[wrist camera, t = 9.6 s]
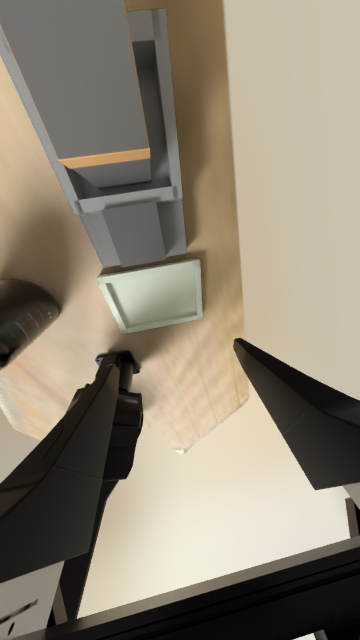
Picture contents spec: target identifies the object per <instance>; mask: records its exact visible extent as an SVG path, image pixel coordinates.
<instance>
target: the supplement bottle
mask: <svg viewBox="0 0 360 640" xmlns="http://www.w3.org/2000/svg"><path fill="white" fill-rule="evenodd" d="M58 314H59V309H58V306H57V303H56V302H55V300H54V299H53V298H52V297H51V295H49V294H48V293H47V292H46V291H45V290H43V289H41V288H40V287H38V286H36V285H34V284H31V283H29V282H25V281H21V280H14V279H7V280H1V281H0V371H1V370H2V369H4V368H5V367H7V366H8V365H9V364H10V363H11V362H12V361H13V360H15V359H16V358H17V357H18V356H19V355H20V354H21V353H22V352H23V351H24V350H25V349H26V348H27V347H28V346H29V345H30V344H31V343H32V342H34V341H35V340H36V339H37V338H38V337H39V336H40V335H41V334H42V333H43V332H44V331H45V330H46V329H47V328H48V327H49V326H50V325H51V324H52V323H53V322H54V321H55V320H56V319H57V317H58Z"/></svg>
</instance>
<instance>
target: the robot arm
mask: <svg viewBox="0 0 360 640" xmlns="http://www.w3.org/2000/svg"><path fill="white" fill-rule="evenodd" d="M233 348H234V351H235V353H236V355H237V357H238V359H239V362H240V364H241V366H242V368H243V370H244V371H245V373H246V375H247V377H248V378H249V380H250V382H251V383H252V385H253V387H254V388H255V390H256V392H257V393H258V395H259V397H260V398H261V400H262V402H263V403H264V405H265V407H266V409H267V410H268V412H269V414H270V415H271V417H272V419H273V420H274V422H275V424H276V425H277V427H278V429H279V430H280V432H281V434H282V436H283V438H284V439H285V441H286V443H287V444H288V446H289V448H290V449H291V451H292V453H293V454H294V456H295V458H296V459H297V461H298V463H299V465H300V466H301V468H302V470H303V471H304V473H305V475H306V476H307V478H308V480H309V481H310V483H311V485H312V486H313V488H314V489H315V490H319V489H325V488H331V487H337V486H343V487H344V489H345V490H346V491H347V492H348V494H349V495H350V498H346V499H345V501H346V509H347V516H348V524H349V532H350V537H351V538H350V539H347V540H343V541H340V542H336V543H333V544H330V545H326V546H323V547H320V548H316V549H313V550H309V551H306V552H302V553H299V554H296V555H293V556H289V557H285V558H282V559H279V560H275V561H272V562H269V563H265V564H262V565H258V566H255V567H252V568H248V569H245V570H241V571H238V572H235V573H231V574H228V575H224V576H221V577H218V578H214V579H211V580H207V581H204V582H201V583H197V584H194V585H191V586H187V587H184V588H180V589H177V590H174V591H170V592H167V593H163V594H160V595H157V596H153V597H150V598H146V599H143V600H140V601H136V602H133V603H129V604H126V605H123V606H119V607H116V608H113V609H109V610H106V611H102V612H99V613H95V614H92V615H89V616H86V617H82V618H79V619H77V615H78V611H79V607H80V603H81V599H82V595H83V591H84V587H85V583H86V579H87V576H88V571H89V567H90V564H91V559H92V556H93V552H94V548H95V544H96V540H97V536H98V532H99V528H100V524H101V520H102V516H103V512H104V508H105V505H106V501H107V499H108V497H109V495H110V494H111V492H112V491H113V489H114V488H115V486H116V484H117V483H118V481H119V480H122V479H126V478H127V477H128V475H129V473H130V471H131V468H132V466H133V460H134V453H135V447H136V443H137V439H138V437H139V435H140V432H141V429H142V425H143V407H142V396H141V393H133V392H130V390H131V383H132V377H133V374H137V373H139V372H140V369H139V367H138V365H137V363H136V361H135V359H134V357H133V355H132V353H131V352H130V351H125V352H120V353H115V354H110V355H105V356H100V357H96V359H95V361H96V363H97V364H98V365H99V368H98V371H97V373H96V376H95V377H96V378H95V380H94V382H93V383H92V384H91V385H90V384H86V385H85V387H84V388H81V389H77V391H76V393H75V395H74V397H73V399H72V401H71V403H70V406H69V408H68V410H67V412H66V414H65V415H64V417H63V418H62V419H61V420H60V421H59V422H58V423H57V425H56V426H55V427H54V428H53V429H52V430H51V431H50V432H49V434H48V435H47V436H46V437H45V438H44V439H43V440H42V441H41V442H40V443H39V444H38V445H37V446H36V447H35V449H34V450H33V451H32V452H31V453H30V454H29V455H28V456H27V457H26V458H25V459H24V460H23V461H22V462H21V463H20V464H19V465H18V466H17V467H16V468H15V469H14V470H13V472H11V474H10V475H9V476H8V477H7V478H6V479H5V480H4V481H3V482H1V483H0V640H293V639H296V638H299V637H302V636H305V635H308V634H311V633H314V636H315V639H316V640H360V400H357V399H355V398H352V397H350V396H348V395H346V394H344V393H342V392H340V391H338V390H335V389H334V388H331V387H329V386H327V385H325V384H323V383H321V382H319V381H317V380H315V379H313V378H311V377H309V376H307V375H305V374H304V373H302V372H300V371H298V370H296V369H295V368H293V367H290V366H289V365H287V364H286V363H284V362H282V361H280V360H279V359H277V358H275V357H273V356H272V355H270V354H268V353H266V352H264V351H263V350H261V349H259V348H257V347H256V346H254V345H252V344H250V343H248V342H247V341H245V340H243V339H242V338H236V339H234V345H233ZM127 353H128V354H127Z"/></svg>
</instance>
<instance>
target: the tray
mask: <svg viewBox="0 0 360 640" xmlns="http://www.w3.org/2000/svg"><path fill="white" fill-rule="evenodd" d="M95 279H96V281H97V283H98V285H99V287H100V289H101V291H102V293H103V295H104V297H105V299H106V301H107V303H108V305H109V307H110V309H111V311H112V313H113V315H114V317H115V319H116V321H117V323H118V325H119V327H120V329H121V331H122V333H123V334H127V333H132V332H138V331H143V330H148V329H153V328H158V327H163V326H168V325H173V324H178V323H183V322H188V321H193V320H198V319H203V315H202V292H201V268H200V259H198V258H195V259H190V260H184V261H178V262H173V263H167V264H161V265H155V266H150V267H144V268H138V269H133V270H127V271H121V272H116V273H110V274H104V275H99V276H98V277H96V278H95Z"/></svg>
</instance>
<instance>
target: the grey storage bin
mask: <svg viewBox="0 0 360 640" xmlns="http://www.w3.org/2000/svg"><path fill="white" fill-rule="evenodd" d="M127 16H128V22H129V28H130V34H131V40H132V46H133V52H134V58H135V64H136V70H137V76H138V82H139V88H140V94H141V100H142V106H143V112H144V118H145V124H146V130H147V136H148V142H149V148H150V169H151V181H152V182H150V183H142V184H135V185H128V186H121V187H114V188H107V189H99V188H97V187H96V186H95V185H93V184H92V183H91V182H89V181H88V180H87V179H85V178H84V177H83V176H81V175H80V174H78V173H77V172H76V171H74V170H73V169H69V168H68V167H67V166H65V165H64V164H62V163H61V162H60V161H59V160H58V157H57V155H56V153H55V151H54V148H53V146H52V144H51V141H50V139H49V137H48V134H47V132H46V130H45V128H44V125H43V123H42V121H41V118H40V116H39V114H38V111H37V109H36V107H35V104H34V102H33V100H32V98H31V95H30V93H29V91H28V88H27V86H26V84H25V81H24V79H23V77H22V75H21V72H20V70H19V68H18V65H17V63H16V61H15V58H14V56H13V54H12V51H11V49H10V47H9V45H8V42H7V40H6V38H5V35H4V33H3V31H2V28H1V26H0V55H1V57H2V60H3V62H4V64H5V66H6V68H7V70H8V73H9V75H10V77H11V79H12V81H13V83H14V85H15V88H16V90H17V92H18V94H19V96H20V98H21V101H22V103H23V105H24V107H25V109H26V111H27V114H28V116H29V118H30V120H31V122H32V124H33V126H34V129H35V131H36V133H37V135H38V137H39V139H40V142H41V144H42V146H43V148H44V150H45V152H46V154H47V157H48V159H49V161H50V163H51V165H52V167H53V170H54V172H55V174H56V176H57V178H58V180H59V182H60V185H61V187H62V189H63V191H64V193H65V195H66V198H67V200H68V202H69V204H70V206H71V208H72V210H73V213H74V214H75V215H80V217H81V219H82V221H83V224H84V226H85V228H86V230H87V232H88V235H89V237H90V239H91V241H92V244H93V246H94V248H95V250H96V253H97V255H98V257H99V259H100V262H101V264H102V266H103V268H105V267H111V266H117V265H121V266H122V267H128V266H134V265H139V264H145V263H151V262H157V261H162V260H166V257H169V256H175V255H180V254H186V253H187V247H186V236H185V226H184V215H183V204H182V198H183V195H182V184H181V173H180V162H179V151H178V140H177V128H176V117H175V106H174V95H173V84H172V73H171V62H170V50H169V39H168V28H167V17H166V8H163V9H151V10H139V11H127Z"/></svg>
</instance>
